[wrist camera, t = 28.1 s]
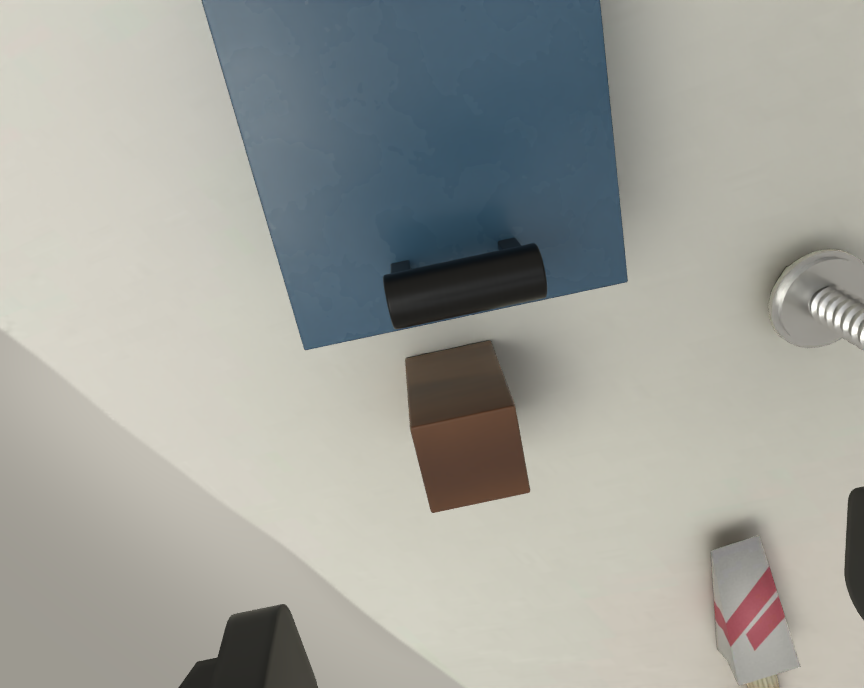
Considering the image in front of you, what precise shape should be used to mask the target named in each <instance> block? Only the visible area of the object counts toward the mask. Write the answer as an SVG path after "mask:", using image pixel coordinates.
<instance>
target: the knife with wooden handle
mask: <svg viewBox="0 0 864 688" xmlns="http://www.w3.org/2000/svg"><path fill="white" fill-rule="evenodd" d="M711 562H712V577H713V593H714V608H715V624H716V639H717V650H718V651H719V652H720V653H721V654H722V655H723V657H724V658H725V659H726V660H727V661H728V663H729V666H730V668H731V670H732V672H733V674H734V677H735V679H736V681H737V683H738V685H739V686H740V685H743V684H746V683H747V686H748V688H779V684H778V679H777V674H779V673H782V672H785V671H789V670H792V669H795V668H798V667H801V666H800V663H799V660H798V657H797V653H796V650H795V647H794V644H793V641H792V637H791V634H790V631H789V628H788V625H787V622H786V618H785V615H784V612H783V609H782V606H781V602H780V599H779V596H778V593H777V590H776V587H775V583H774V580H773V577H772V574H771V571H770V567H769V564H768V561H767V558H766V555H765V552H764V548H763V545H762V542H761V539H760V536H759V535H758V536H755V537H751V538H748V539H745V540H742V541H739V542H736V543H733V544H730V545H727V546H724V547H721V548H718V549H715V550H711Z"/></svg>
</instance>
